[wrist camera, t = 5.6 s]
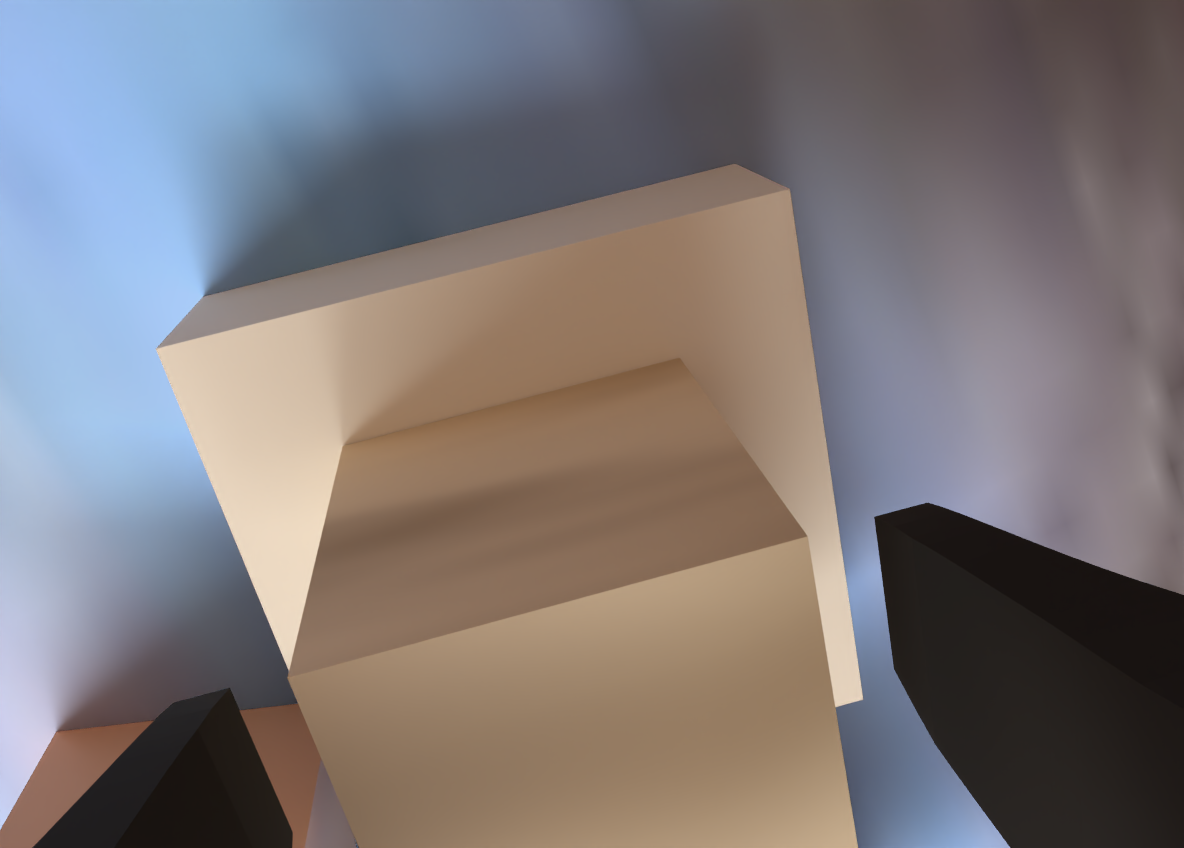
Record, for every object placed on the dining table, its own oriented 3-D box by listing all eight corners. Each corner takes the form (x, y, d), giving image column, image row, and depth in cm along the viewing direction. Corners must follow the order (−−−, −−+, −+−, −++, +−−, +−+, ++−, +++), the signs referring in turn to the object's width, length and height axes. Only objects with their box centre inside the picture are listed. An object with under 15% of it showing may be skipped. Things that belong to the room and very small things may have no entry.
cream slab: (800, 598, 18) (862, 699, 16) (371, 714, 18) (358, 838, 15) (727, 159, 15) (789, 188, 13) (209, 289, 15) (156, 348, 12)
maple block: (736, 638, 15) (869, 913, 10) (440, 720, 15) (438, 1038, 10) (679, 358, 13) (808, 536, 9) (342, 446, 13) (287, 676, 8)
